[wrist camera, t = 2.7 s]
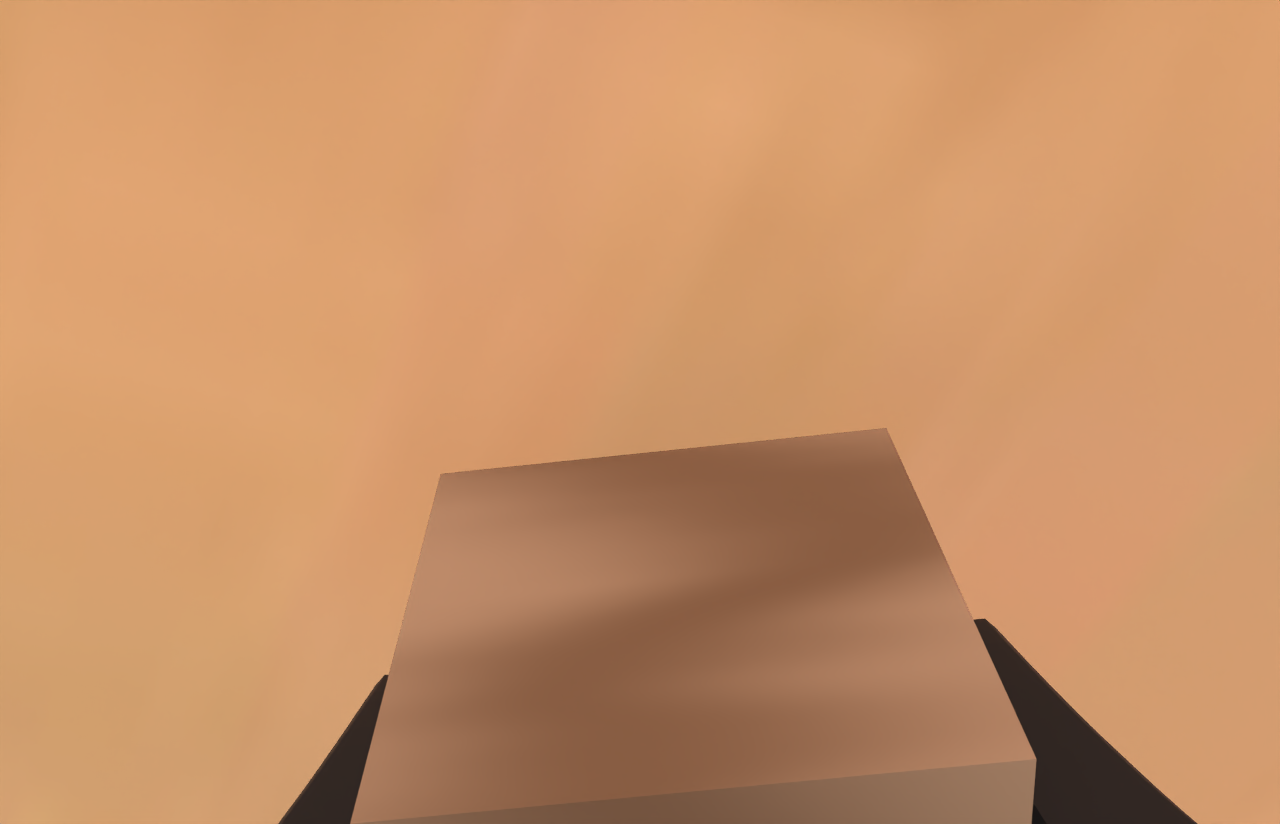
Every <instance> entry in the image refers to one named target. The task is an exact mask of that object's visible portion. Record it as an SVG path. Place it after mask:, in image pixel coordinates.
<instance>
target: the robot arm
mask: <svg viewBox="0 0 1280 824" xmlns="http://www.w3.org/2000/svg"><path fill="white" fill-rule="evenodd" d="M974 622H975V625H976V627H977V629H978V631H979V633H980V636H981V638H982V640H983V642H984V644H985V647H986V649H987V651H988V653H989V655H990V658H991V660H992V662H993V664H994V666H995V669H996V671H997V673H998V675H999V678H1000V680H1001V682H1002V684H1003V686H1004V689H1005V691H1006V693H1007V695H1008V697H1009V700H1010V702H1011V704H1012V706H1013V708H1014V711H1015V713H1016V715H1017V717H1018V719H1019V722H1020V724H1021V726H1022V728H1023V730H1024V733H1025V735H1026V737H1027V739H1028V741H1029V744H1030V746H1031V748H1032V750H1033V752H1034V755H1035V757H1036V772H1035V785H1034V798H1033V810H1032V823H1031V824H1197V823H1196V822H1195V821H1194V820H1192V819H1191V818H1190V817H1189V816H1188V815H1187V814H1185V813H1184V812H1183V811H1182V810H1181V809H1180V808H1179V807H1178V806H1176V805H1175V804H1174V803H1173V802H1172V801H1171V800H1170V799H1169V798H1167V797H1166V796H1165V795H1164V794H1163V793H1162V792H1161V791H1160V790H1158V789H1157V788H1156V787H1155V786H1154V785H1153V784H1152V783H1151V782H1150V781H1149V780H1148V779H1146V778H1145V777H1144V776H1143V775H1142V774H1141V773H1140V772H1139V771H1138V770H1137V769H1136V768H1135V767H1134V766H1133V765H1131V764H1130V763H1129V762H1128V761H1127V760H1126V759H1125V758H1124V757H1123V756H1122V755H1121V754H1120V753H1119V752H1118V751H1116V750H1115V749H1114V748H1113V747H1112V746H1111V745H1110V744H1109V743H1108V742H1107V741H1106V740H1105V739H1104V738H1103V737H1102V736H1100V735H1099V734H1098V733H1097V732H1096V731H1095V730H1094V729H1093V728H1092V727H1091V726H1090V725H1089V724H1088V723H1087V722H1086V721H1085V720H1084V719H1083V718H1082V717H1081V716H1080V715H1079V714H1078V713H1077V712H1076V711H1075V710H1074V709H1073V708H1072V707H1071V706H1070V705H1069V704H1068V703H1067V702H1066V701H1065V700H1064V699H1063V698H1062V697H1061V696H1060V695H1059V694H1058V693H1057V692H1056V691H1055V690H1054V689H1053V688H1052V687H1051V686H1050V685H1049V684H1048V683H1047V682H1046V681H1045V679H1044V678H1043V677H1042V676H1041V675H1040V674H1039V673H1038V672H1037V671H1036V670H1035V669H1034V668H1033V667H1032V666H1031V665H1030V664H1029V663H1028V662H1027V661H1026V660H1025V659H1024V658H1023V656H1022V655H1021V654H1020V653H1019V652H1018V651H1017V650H1016V649H1015V648H1014V647H1013V646H1012V645H1011V644H1010V643H1009V642H1008V641H1007V639H1006V638H1005V637H1004V636H1003V635H1002V634H1001V633H1000V632H999V631H998V630H997V629H996V628H995V627H994V626H993V625H992V624H990V623H989V622H988V621H987V620H986V619H977V620H974ZM388 676H389V675H384V677H383V678H382V679H381V680H380V681H379V682H378V683H377V684H376V686H375V687H374V689H373V690H372V691H371V693H370V694H369V696H368V697H367V699H366V700H365V702H364V703H363V705H362V706H361V708H360V709H359V711H358V712H357V713H356V715H355V716H354V718H353V719H352V721H351V722H350V724H349V725H348V727H347V728H346V730H345V731H344V733H343V734H342V736H341V737H340V738H339V740H338V741H337V743H336V744H335V746H334V747H333V749H332V750H331V752H330V753H329V754H328V756H327V757H326V759H325V760H324V762H323V763H322V764H321V766H320V767H319V769H318V770H317V771H316V773H315V774H314V776H313V777H312V779H311V780H310V781H309V783H308V784H307V786H306V787H305V788H304V790H303V791H302V793H301V794H300V795H299V797H298V798H297V799H296V801H295V802H294V803H293V805H292V806H291V807H290V809H289V810H288V811H287V813H286V814H285V816H284V817H283V818H282V820H281V821H280V822H279V824H350V823H351V819H352V815H353V811H354V807H355V803H356V799H357V796H358V792H359V788H360V784H361V780H362V776H363V772H364V769H365V765H366V761H367V757H368V753H369V749H370V745H371V741H372V738H373V734H374V730H375V726H376V722H377V718H378V714H379V711H380V707H381V703H382V699H383V695H384V691H385V687H386V684H387V680H388Z"/></svg>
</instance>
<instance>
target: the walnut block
mask: <svg viewBox="0 0 1280 824" xmlns="http://www.w3.org/2000/svg"><path fill="white" fill-rule="evenodd" d="M1035 772H1036V757H1035V755H1034V752H1033V750H1032V748H1031V746H1030V744H1029V741H1028V739H1027V737H1026V735H1025V733H1024V730H1023V728H1022V726H1021V724H1020V722H1019V719H1018V717H1017V715H1016V713H1015V711H1014V708H1013V706H1012V704H1011V702H1010V700H1009V697H1008V695H1007V693H1006V691H1005V689H1004V686H1003V684H1002V682H1001V680H1000V678H999V675H998V673H997V671H996V669H995V666H994V664H993V662H992V660H991V658H990V655H989V653H988V651H987V649H986V647H985V644H984V642H983V640H982V638H981V636H980V633H979V631H978V629H977V627H976V625H975V622H974V620H973V618H972V616H971V614H970V611H969V609H968V607H967V605H966V603H965V600H964V598H963V596H962V594H961V592H960V589H959V587H958V585H957V583H956V581H955V578H954V576H953V574H952V572H951V570H950V567H949V565H948V563H947V561H946V559H945V556H944V554H943V552H942V550H941V548H940V545H939V543H938V541H937V539H936V536H935V534H934V532H933V530H932V528H931V525H930V523H929V521H928V519H927V517H926V514H925V512H924V510H923V508H922V506H921V503H920V501H919V499H918V497H917V495H916V492H915V490H914V488H913V486H912V484H911V481H910V479H909V477H908V475H907V473H906V470H905V468H904V466H903V464H902V462H901V459H900V457H899V455H898V453H897V451H896V448H895V446H894V444H893V442H892V440H891V437H890V435H889V433H888V431H887V429H886V428H883V429H873V430H863V431H854V432H844V433H834V434H825V435H815V436H805V437H795V438H786V439H776V440H766V441H756V442H747V443H737V444H727V445H718V446H708V447H698V448H688V449H679V450H669V451H659V452H649V453H640V454H630V455H620V456H611V457H601V458H591V459H581V460H572V461H562V462H552V463H542V464H533V465H523V466H513V467H504V468H494V469H484V470H474V471H465V472H455V473H445V474H441V475H440V479H439V483H438V487H437V491H436V494H435V498H434V502H433V506H432V510H431V514H430V518H429V521H428V525H427V529H426V533H425V537H424V541H423V545H422V548H421V552H420V556H419V560H418V564H417V568H416V572H415V575H414V579H413V583H412V587H411V591H410V595H409V599H408V602H407V606H406V610H405V614H404V618H403V622H402V626H401V630H400V633H399V637H398V641H397V645H396V649H395V653H394V657H393V660H392V664H391V668H390V672H389V676H388V680H387V684H386V687H385V691H384V695H383V699H382V703H381V707H380V711H379V714H378V718H377V722H376V726H375V730H374V734H373V738H372V741H371V745H370V749H369V753H368V757H367V761H366V765H365V769H364V772H363V776H362V780H361V784H360V788H359V792H358V796H357V799H356V803H355V807H354V811H353V815H352V819H351V823H350V824H1031V823H1032V810H1033V798H1034V785H1035Z"/></svg>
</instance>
